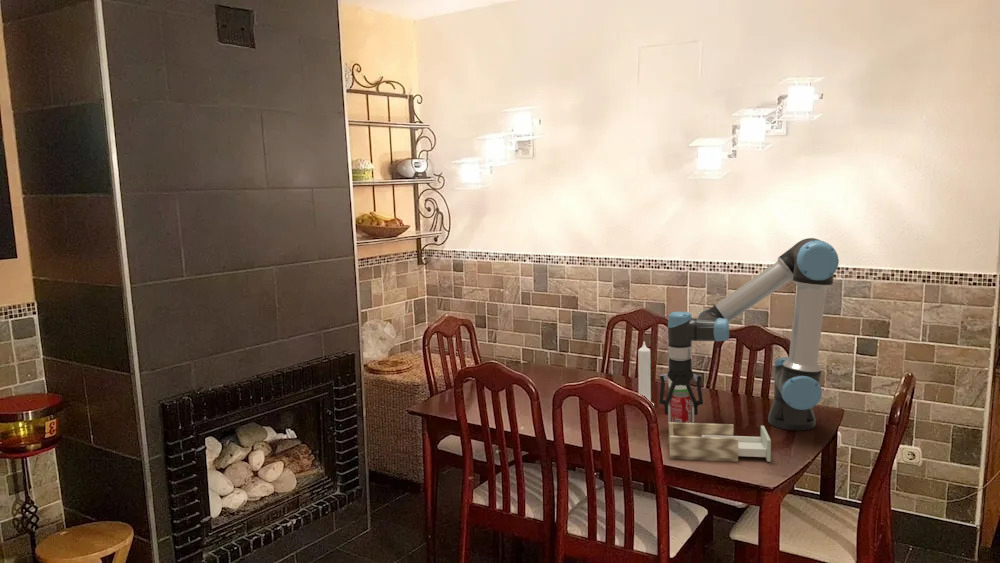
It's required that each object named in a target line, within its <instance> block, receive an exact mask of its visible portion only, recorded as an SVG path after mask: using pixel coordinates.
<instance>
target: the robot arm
mask: <svg viewBox="0 0 1000 563" xmlns="http://www.w3.org/2000/svg"><path fill="white" fill-rule="evenodd" d="M839 262H840V260H839V256H838V253H837V250H836V249H835V248H834V247H833V245H832V244H829V242H826V241H824V240H820V239H818V238H813V237H809V238H804V239H801V240H800V241H798V242H796V243H795V244H794V245H793V246H791V247H790V248H788V250H786V251H785V252H784V253H782V254H781V255H779V256H778V257H777V260H776V262H774V264H773V263H772V265H770V266H769V267H767V268H766V269H765V270H763V271H762V272H760V273H759V274H757V275H756V276H755V277H753V278H752V279H750V280H749V281H748V282H747V281H746V283H744V284H743V285H742V286H740V287H739V288H737V289H736V290H734V291H733V292H731V293H730V294H729V295H727V296H725V297H724V298H723V299H721V300H720V301H719V302H717V303H716V304H715V305H713V306H711V307H710V308H707V309H704V310H703V311H701V312H700V313H699V315H698V316H697V318H694V317H692V314H691V312H688V311H673V312H670V313H669V314H668V315H667V316H668V318H667V319H668V322H667V335H668V336H667V337H668V346H667V347H668V348H669V357H670V358H669V371H668V370H667V373H664V374H663V373H660V374H659V379H660V389H659V396H658V397H659V398H658V403H659V404H660V405H662V406H664V415H667V422H668V423H667V424H668V426H669V422H671V412H670V399H671V397H672V394H673V391H674V388H675V386H679V385H683V386H685V385H686V387H687V390H688V393H689V396H690V398H691V403H692V423H695V416H697V415H698V413H699V412H698V406H700V405H703V404H704V400H703V394H702V393H703V392H702V391H703V390H702V385H701V381H702V375H701V374H700V373H699V374H696V373H694V372H693V367H692V366H693V363H692V362H693V359H692V357H693V354H692V350H693V348H692V342H726V341H728V340H729V339H730V322H731V321H732V320H734V319H736V318H737V317H739V316H740V315H741V314H743V313H745V312H746V311H747V310H749V309H751V308H752V307H754V306H755V305H756V304H758V303H759V302H761V301H762V300H764V299H765V298H767V297H769V296H770V295H771V294H773V293H774V292H775V291H777V290H778V289H780V288H781V287H783V286H784V285H786V284H787V283H789V282H791V281H792V282H793V283H794V284H795V286H796V293H795V294H796V295H795V304H794V309H793V310H794V311H793V319H792V328H791V334H790V344H789V352H788V353H789V354H788V357H778V358H776V359H775V360H774V366H773V368H774V381H773V382H774V385H773V386H774V388H773V389H774V390H773V394H774V396H773V403H772V405H771V407H770V410H769V413H768V418H767V420H768V423H769V424H770V425H771V426H773V427H776V428H778V429H783V430H790V431H808V430H813V429H814V428H815V427H816V423H817V422H816V417H815V413H814V410H813V408H814V407H815V406H817V405H818V403H819V402H820V401H821V399H822V393H823V391H822V386H821V377H822V367H821V366H820V365H819V363H818V359H819V351H820V345H821V344H820V343H821V335H822V326H823V320H824V312H825V304H826V303H825V302H826V296H827V290H828V289H829V288H831V286H833V283H834V275H835V273H836V271H837V270H838V267H839ZM668 377H669V379H670V380H671V381H672V383H671V386H670V389H669V391H668V390H667V391H668V392H667V394H666V397H665V399H664V395H665V385H666V381H668ZM693 379H694V381H695V384H696V391H697V396H698V400H697V399H696V396H695V393H694V391H693V389H692V386H691V384H690V382H691V380H693Z"/></svg>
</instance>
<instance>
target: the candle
mask: <svg viewBox="0 0 1000 563" xmlns="http://www.w3.org/2000/svg"><path fill="white" fill-rule="evenodd" d="M646 344H647V343H646V341H643V342H642V346H641V347H640V348H639V349H637V356H638V357H637V358H638V360H637V361H638V362H637V363H638V364H637V368H638V371H637V374H638V377H637V378H638V380H637V383H638V390H637V391H638V393H639V394H641V395H643V396H645V397H646V398H647V399H648V400H649V401H650V402H651V403H652V404H653V406H654V407H655V403H654V402H652V400H651V399H652V398H651V392H652V391H651V389H652V388H651V349H650V348H649V347H647V345H646ZM639 394H638V395H639Z"/></svg>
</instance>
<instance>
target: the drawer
mask: <svg viewBox="0 0 1000 563" xmlns="http://www.w3.org/2000/svg"><path fill="white" fill-rule="evenodd" d="M702 437H719V438H738V457H754V458H755V457H756V458H765V460H766V462H767V463H768V462H769V463H770V462H771V460H772V459H771V456H772V455H771V454H772V452H771V451H772V450H771V449H772V440H771V438H770V435H769V434H768V431H767V430H766V427H765V425H760V436H748V435H747V436H746V435H745V436H744V435H733V436H723V435H702Z"/></svg>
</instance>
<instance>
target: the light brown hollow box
mask: <svg viewBox="0 0 1000 563" xmlns="http://www.w3.org/2000/svg"><path fill="white" fill-rule="evenodd" d="M702 435H723V436H734V424H733V423H732V424H731V423H708V422H707V423H705V422H704V423H703V422H702V423H701V422H694V423H681V422H669V425H668V446H669V447H668V450H669V451H668V452H669V459H670V460H686V461H687V460H690V461H707V462H708V461H709V462H731V463H733V462H734V463H738V462H739V456H738V438H719V437H702Z"/></svg>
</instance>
